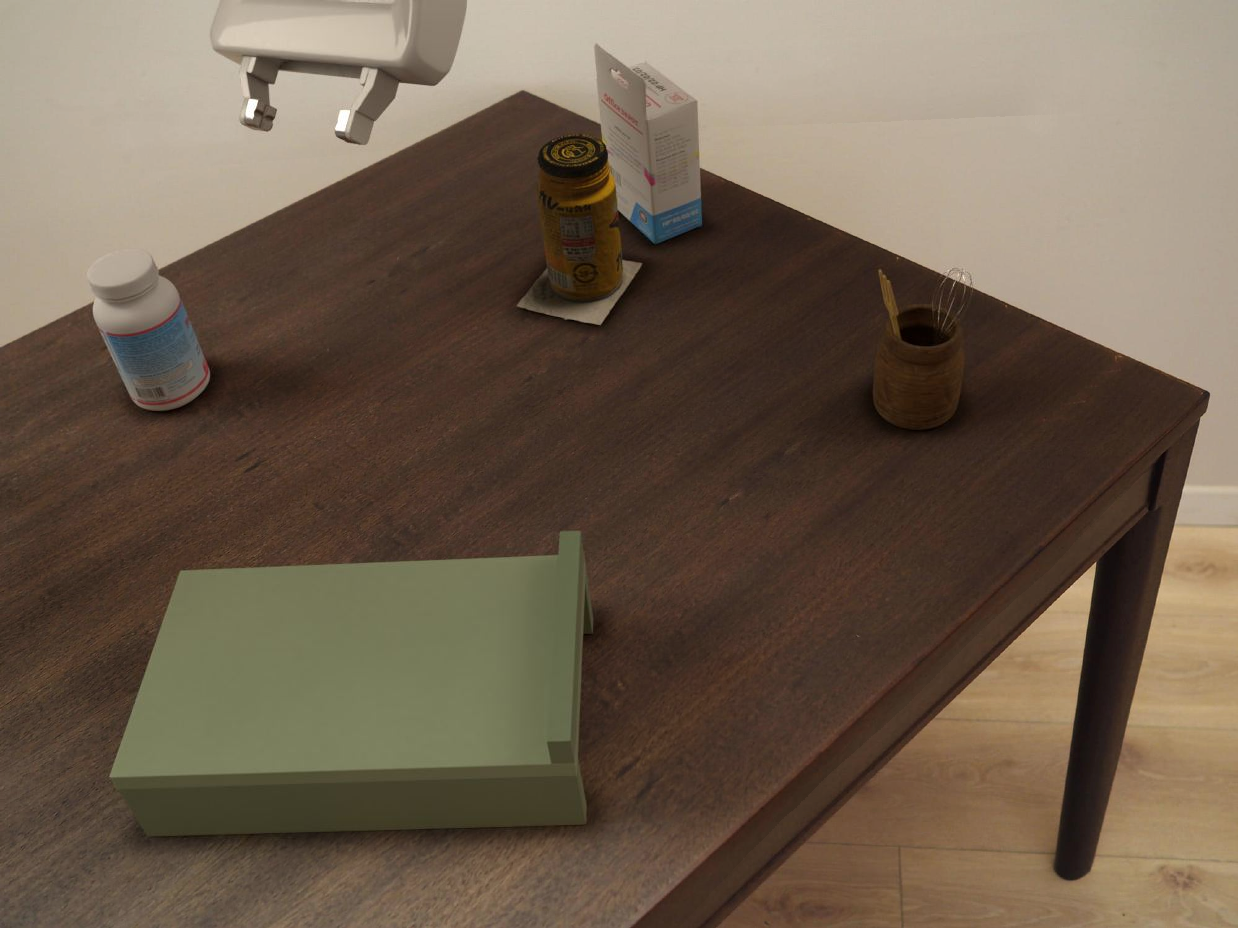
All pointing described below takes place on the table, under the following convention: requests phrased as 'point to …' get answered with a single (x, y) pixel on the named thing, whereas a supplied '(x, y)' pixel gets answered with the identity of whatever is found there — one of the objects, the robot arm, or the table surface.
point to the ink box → (650, 146)
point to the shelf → (363, 698)
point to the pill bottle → (147, 331)
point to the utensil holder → (918, 362)
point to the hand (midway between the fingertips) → (300, 134)
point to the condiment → (578, 233)
